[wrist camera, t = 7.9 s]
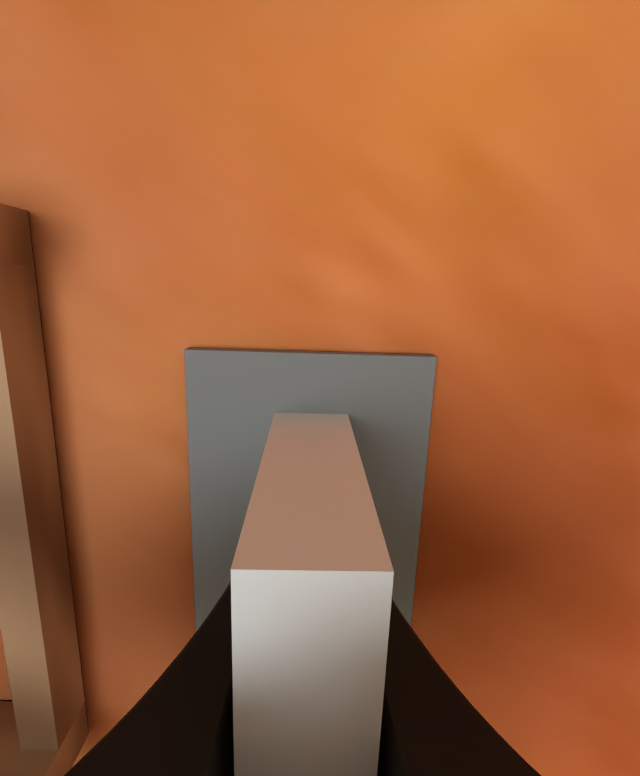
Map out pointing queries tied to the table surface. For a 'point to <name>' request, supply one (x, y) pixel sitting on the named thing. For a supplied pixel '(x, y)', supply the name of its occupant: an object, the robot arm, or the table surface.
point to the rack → (32, 537)
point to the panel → (309, 608)
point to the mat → (303, 395)
